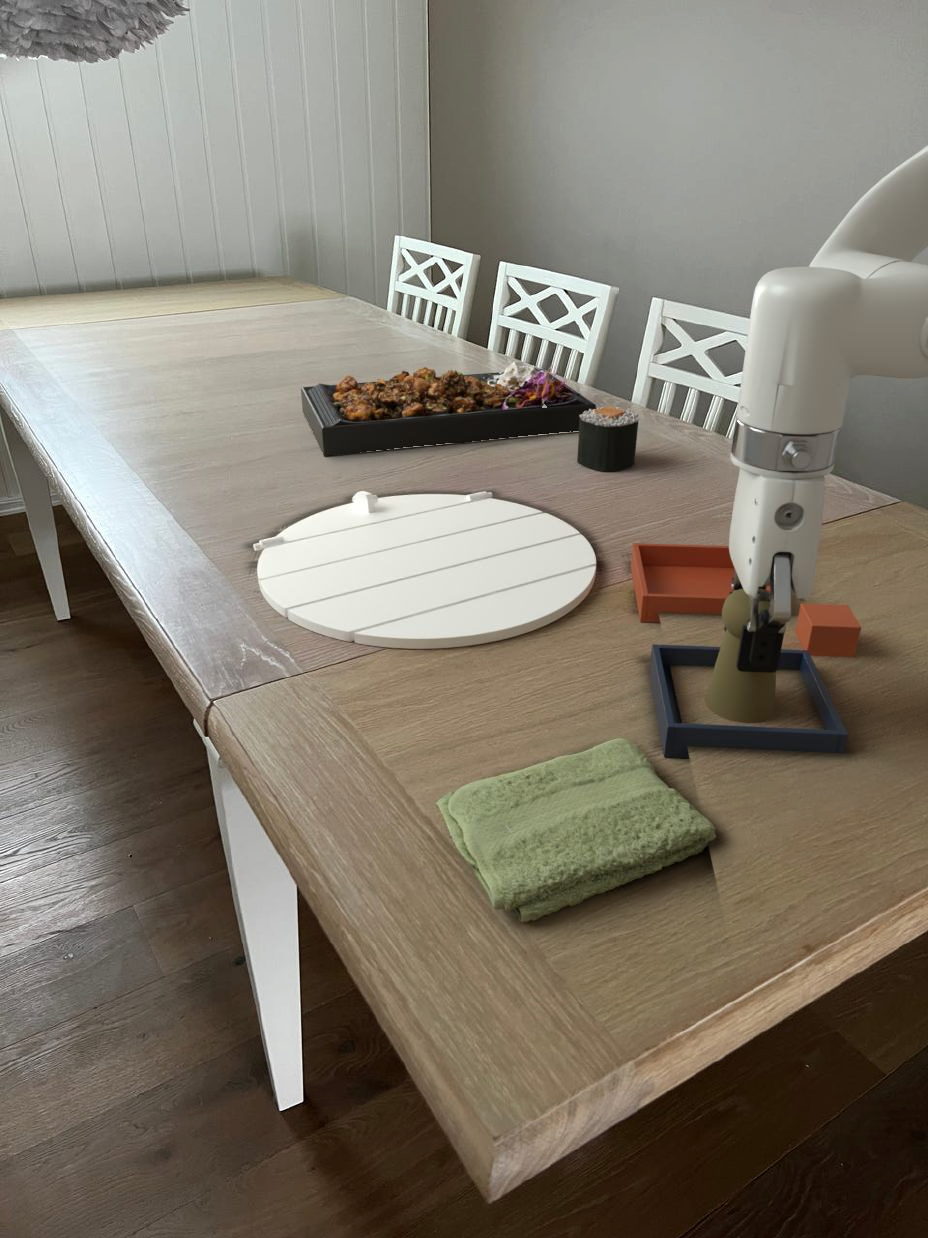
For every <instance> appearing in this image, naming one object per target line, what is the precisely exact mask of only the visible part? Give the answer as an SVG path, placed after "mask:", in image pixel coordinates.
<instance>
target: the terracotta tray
mask: <svg viewBox="0 0 928 1238" xmlns="http://www.w3.org/2000/svg"><path fill="white" fill-rule="evenodd" d="M631 547H632V548H631V556H630V557H631V559H630V572H631V578H632V584H633V589H634V594H635V600H636V601H635V602H636V606H637V612H638V617H639V622H640V623H656V624H657V623H658V624H660V623H661V618H660V614H659V613H676V614H704V615H722V609H723V605H724V602H725V600H726V598H727V597H728V596H729V593H730V591H731V592H734V591H736V590H732V587H731V582H732V576H733V572H734V565H733V562H732V560H731V556H730V552H729V545H712V544H711V545H707V544H680V543H679V544H678V543H677V544H675V543H674V544H673V543H644V542H643V543H642V542H640V543H638V542H633V543H632V545H631ZM766 590H768V591H770V586H767V588H766Z"/></svg>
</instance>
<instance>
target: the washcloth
mask: <svg viewBox="0 0 928 1238" xmlns="http://www.w3.org/2000/svg"><path fill="white" fill-rule="evenodd" d="M435 808H436V809H438V810H439V812H440V814H441V815H442V816H443V819H444V821H445V823H446V826H447V829H448V831H449V834H450V837H451V839H452V841H453V843H454V845H455V847H456V849H457V851H458V852H459V853H460V855H461V856H462V858H463V859H464V860H465V861H466V862H467V863H469V866H470V867H471V869H472V871H473V873H474V875H475V876H476V878H477V879H478V881H479V883H480V884H481V887H482V888H483V889H484V891H485V892H486V894H487V896H488V898H489V901H490V903H491V905H492V908H493V909H494V910H497V911H498V910H501V909H505V912H506V911H508V912H510V911H513V910H514V912H515V914H516V916H517V917H518V919H519V922H521V923H527V922H529V921H536V920H538V919H540V918H541V917H544V916H549V915H551V914H553V913H555V912H558V911H559V910H561V909H562V908H563V909H564V908H566V907H567V906H569V907H573V906H577V905H579V904H581V903H582V902H583V901H584V900H588V899H589V898H590V897H594V896H595V895H596V894H598V895H601V894H604V893H606V892H607V891H610V890H614V889H615V888H617V887H618V888H619V887H620V886H621V885H622V886H623V885H625V884H627V883H632V881H634V880H636V879H637V880H638V879H641V878H643V877H644V876H645V875H649V874H655V872H657V871H661V870H662V868H663V867H664V868H665V867H668V866H671V865H674V864H675V862H677V863H680V862H682V861H684V860H685V859H687V858H688V857H691V856H696V855H698V854H700V853H702V852H704V849H705V848H706V847H708V846H709V842H712V841H714V840H715V839H716V838H717V835H716V830H717V829H716V827H715V825H714V824H713V823H712V822H711V821H710V820H709V819H708V818H707V817H706V816H705V815H704V814H703V813H702V812H701V811H698V810H697V809H696V807H695V806H694V805H692V804H691V803H689V800H687V799H685V798H684V796H683V795H682V794H681V792H679V791H678V790H677V789H675V788H673V787H671V788H670V787H669V786H668V785H667V784H666V783H665V782H664V781H663V780H662V779H661V778H660V777H658V775H657V773H656V770H655V766H654V765H653V763H652V761H651V760H649V758H648V757H647V755H646V754H645V753H644V751H643V750H642V749H640V747H639V746H638V745H637V744H635V743H633V742H632V741H630V740H629V739H626V738H623V737H622V738H619V737H617V738H615V739H610V740H608V741H605V742H602V743H599V744H598V745H594V746H593V747H591V748H589V749H587V750H584V751H580V752H577V753H572V754H564V755H561V756H557V757H555V758H552V759H549V760H546V761H543V762H539V763H537V764H534V765H531V766H529V767H524V768H522V769H518V770H516V771H512V772H507V773H503V774H500V775H495V776H491V777H487V778H483V779H479V780H476V781H471V782H469V783H467V784H464V785H463V786H461V787H459V788H458V789H457V790H453V791H450V792H448V793H447V794H445V795H444V796H442V797H441V798H439V799H438V801H436V802H435Z"/></svg>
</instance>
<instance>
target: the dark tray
mask: <svg viewBox="0 0 928 1238" xmlns="http://www.w3.org/2000/svg"><path fill="white" fill-rule="evenodd" d="M720 648H721V646H709V645H684V644H683V645H682V644H680V645H679V644H657V643H655V644H654V643H653V644H651V651H650V661H649V669H648V674H649V679H650V685H651V691H652V697H653V702H654V708H655V713H656V719H657V725H658V731H659V736H660V742H661V749H662V754H663V758H672V759H673V758H675V759H690V752H689V749H688V747H699V748H720V749H742V750H761V751H763V750H765V751H782V752H783V751H784V752H786V751H787V752H806V753H827V754H828V753H830V754H844V753H845V750H846V745H847V741H848V736H849V734H848V732H847V730H846V727H845V726H844V725H845V724H843V722H842V719H841V716H840V715H839V712H838V711H837V708H836V706H835V705H834V702H833V700H832V697H831V696H830V694H829V692H828V689H827V688H826V685H825V683H824V681H823V679H822V677H821V675H820V673H819V670H818V669H817V666H816V664H815V662H814V660H813V658H812V655H810V654H809V652H808V650H803V649H802V650H801V649H790V648H789V649H787V648H781V653H780V658H779V663H778V669H777V670H789V671H792V670H793V671H799V673H800V674H801V677H802V679H803V681H804V683H805V687H806V688H807V690H808V693H809V695H810V698H811V699H812V702H813V705H814V706H815V708H816V711H817V714H818V715H819V717H820V720H821V722H822V724H823V727H824V728H825V729H819V728H818V729H817V728H794V727H775V726H774V727H773V726H750V725H726V724H705V723H704V724H703V723H683V721H682V716H681V712H680V707H679V703H678V698H677V694H676V693H677V692H676V689H675V684H674V679H673V675H672V669H671V666H685V667H686V666H687V667H689V666H690V667H709V668H710V667H713V668H714V667H715V664H716V661H717V658H718V654H719V651H720Z"/></svg>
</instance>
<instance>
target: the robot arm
mask: <svg viewBox="0 0 928 1238" xmlns="http://www.w3.org/2000/svg"><path fill="white" fill-rule="evenodd" d="M926 248H928V144H927V145H926V146H925V147H923V148H921V149H920V150H919V151H918V152H916V153H914V155H913V156H910V157H909V158H908V159H906V160H905V161H904V162H902V163H900V164H899V165H898V166H897V167H895V168H894V169H893V170H891V171H890V172H889V173H887V174H886V175H885V176H883V177H882V178H881V179H880V180H879V181H878V182H876V184H874V185H873V186H872V187H871V188H870V189H869V190H868V191H867V192H865V194H863V195H862V197H860V198H859V200H858V201H857V202H856V203H855V204H854V205H853V207H852V208H850V209H849V211H848V212H847V214H846V215H845V216H844V217H843V219H842V220H841V221H840V222H839V224H838V225H837V227H836V228H835V229H834V231H833V232H832V233H831V234H830V236H829V237H828V238H827V239H826V241H825V242H824V244H823V245H822V246H821V247H820V249H819V250H818V252H817V253H816V255H814V256H813V258H812V260H811V262H810V264H809V265H808V266H789V267H781V268H775V269H773V270H770V271H768V272H766V273H765V274H763V275H762V276H761V278H760V279H759V280H758V282H757V283H756V286H755V288H754V290H753V296H752V301H751V308H750V309H751V310H750V315H749V322H748V328H747V329H748V330H747V336H746V345H745V352H744V359H743V366H742V374H741V380H740V388H739V395H738V402H737V408H736V415H735V421H734V422H735V423H734V429H733V436H732V443H731V451H730V455H729V456H730V457H729V459H730V461H731V463H732V464H733V465H734V466H735V467H736V468H738V469H739V470H738V479H737V484H736V489H735V494H734V500H733V505H732V506H733V507H732V513H731V520H730V526H729V536H728V546H729V552H730V556H731V560H732V562H733V565H734V572H733V576H732V582H731V587H732V590H739V589H744V591H745V593H746V594H747V595H748V596H749V607H748V619H747V626H742V632H741V638H740V644H739V650H738V656H737V663H736V666H737V669H738V670H739V671H741V672H764V673H774V672H776V673H777V671H778V670H779V669H778V663H779V658H780V653H781V649H782V647H783V642H784V636H785V632H786V629H787V623H788V622H789V621H790V620H791V618H792V592H793V594H794V596H795V598H796V599H797V600H800V601H802V602H804V601H807V600H808V599H809V598H810V597H811V596H812V592H813V587H814V582H815V574H816V568H817V561H818V554H819V548H820V541H821V533H822V527H823V526H822V525H823V517H824V504H825V486H826V485H825V483H826V482H825V481H826V480H825V479H826V478H825V476H827V475H829V474H831V473H832V472H833V471H834V468H835V464H836V458H837V452H838V447H839V443H840V438H841V433H842V428H843V427H842V426H843V423H844V419H845V413H846V407H847V403H848V397H849V393H850V387H851V383H852V379H853V378H855V377H856V376H870V377H871V376H873V377H884V378H895V379H921V378H927V377H928V264H923V263H918V262H914V261H913V260H915V258H917V256H919V255H920V254H921V253H922V252H923V251H924V250H925V249H926ZM767 586H770V592H760V591H758V588H760V589H765V590H766V588H767ZM731 593H733V592H731V591H730V593H729V595H730V594H731ZM759 601H770V606H769V607H768V610H762V611H761V612H760V613H759V615H758V610H759ZM723 629H724V633H725V632H726V627H725V626H723Z"/></svg>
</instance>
